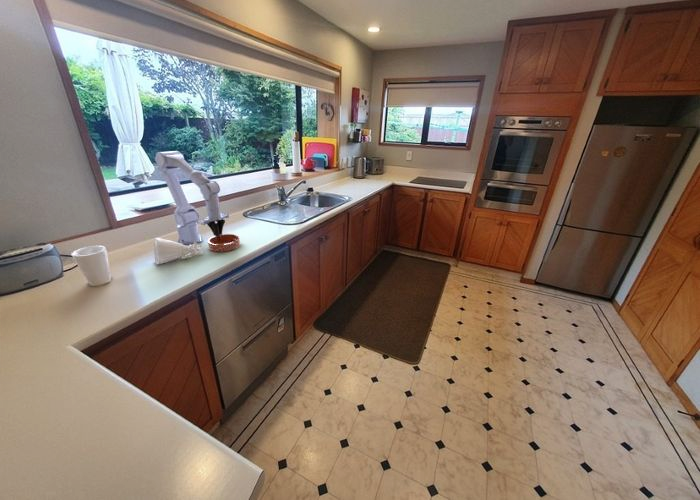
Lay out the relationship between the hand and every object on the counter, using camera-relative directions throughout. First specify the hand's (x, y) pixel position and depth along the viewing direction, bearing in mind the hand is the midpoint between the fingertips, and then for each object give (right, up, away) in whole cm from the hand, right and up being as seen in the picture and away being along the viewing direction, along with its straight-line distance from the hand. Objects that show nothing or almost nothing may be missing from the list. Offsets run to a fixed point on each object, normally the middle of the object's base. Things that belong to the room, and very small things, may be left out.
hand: (218, 234), depth 137 cm
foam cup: (-31, -20, -30) cm, 47 cm away
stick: (0, -3, +1) cm, 3 cm away
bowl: (+2, -6, +3) cm, 7 cm away
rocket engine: (-12, -12, -11) cm, 20 cm away
